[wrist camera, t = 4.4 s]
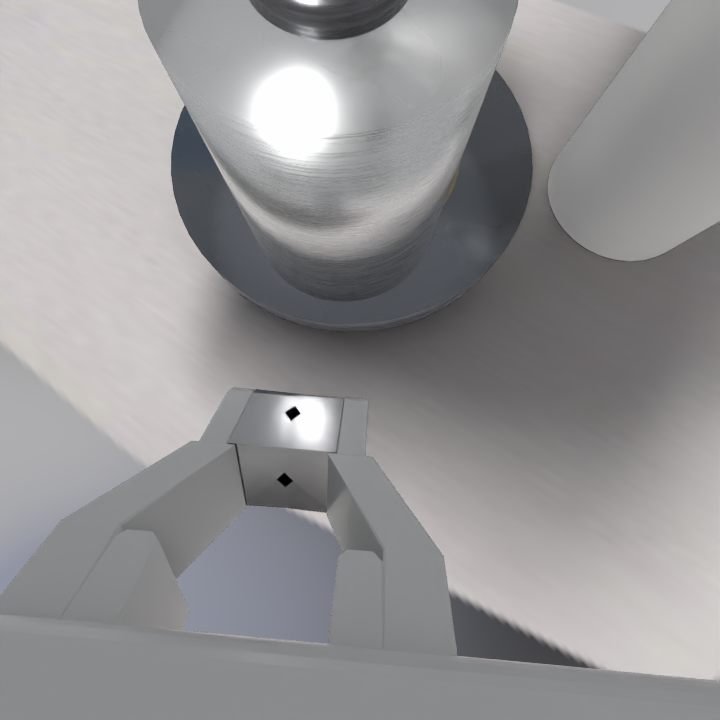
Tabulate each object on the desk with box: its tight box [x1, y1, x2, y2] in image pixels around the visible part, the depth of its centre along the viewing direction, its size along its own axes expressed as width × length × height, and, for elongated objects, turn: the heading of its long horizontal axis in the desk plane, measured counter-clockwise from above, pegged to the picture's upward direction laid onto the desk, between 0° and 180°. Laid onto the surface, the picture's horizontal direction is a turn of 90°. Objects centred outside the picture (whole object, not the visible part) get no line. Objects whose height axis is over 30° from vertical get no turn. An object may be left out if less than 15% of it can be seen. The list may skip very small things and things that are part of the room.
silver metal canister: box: [138, 0, 518, 302], centre depth 10 cm, size 7×7×9 cm
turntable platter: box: [171, 70, 532, 332], centre depth 16 cm, size 15×15×1 cm
